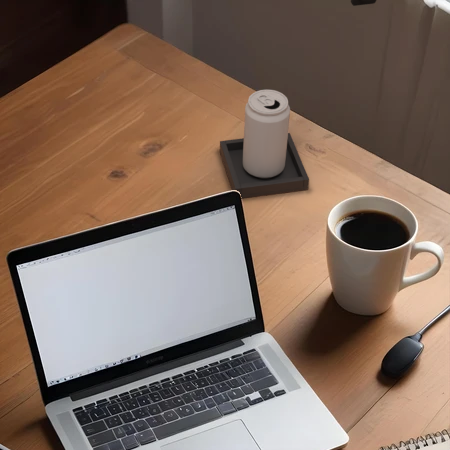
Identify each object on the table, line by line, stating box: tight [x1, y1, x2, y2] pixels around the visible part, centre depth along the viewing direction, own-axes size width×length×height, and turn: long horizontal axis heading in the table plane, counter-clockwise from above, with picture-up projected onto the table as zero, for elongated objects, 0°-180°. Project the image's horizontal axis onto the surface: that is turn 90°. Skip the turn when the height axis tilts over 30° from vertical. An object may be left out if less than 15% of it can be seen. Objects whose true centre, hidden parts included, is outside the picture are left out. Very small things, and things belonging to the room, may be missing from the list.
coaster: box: [219, 132, 310, 199], centre depth 126 cm, size 11×11×2 cm
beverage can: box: [243, 89, 291, 178], centre depth 122 cm, size 6×6×12 cm
